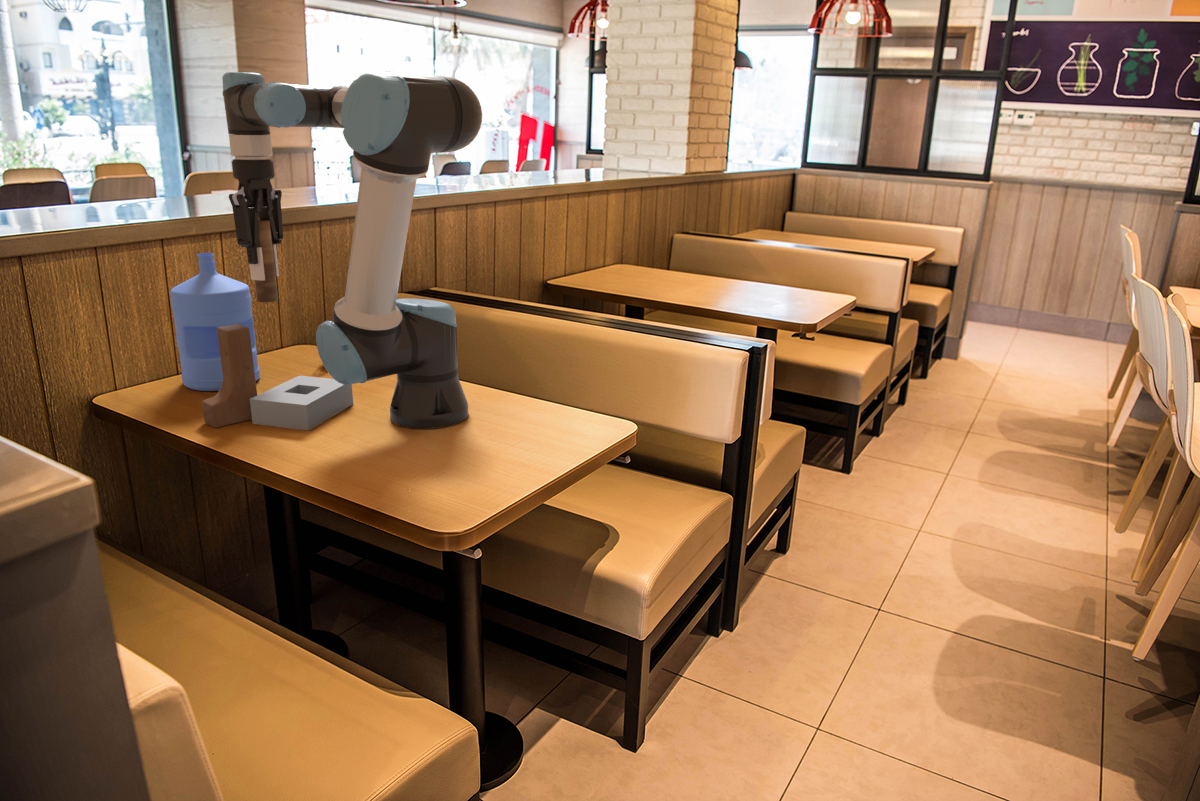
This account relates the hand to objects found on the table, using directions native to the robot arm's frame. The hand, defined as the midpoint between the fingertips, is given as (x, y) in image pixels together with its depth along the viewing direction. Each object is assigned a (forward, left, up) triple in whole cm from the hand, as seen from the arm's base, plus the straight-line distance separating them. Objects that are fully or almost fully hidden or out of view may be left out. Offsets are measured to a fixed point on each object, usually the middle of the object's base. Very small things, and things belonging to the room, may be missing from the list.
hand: (265, 277), depth 167 cm
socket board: (-13, +10, -25) cm, 29 cm away
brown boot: (-2, +17, -25) cm, 30 cm away
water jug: (+16, -3, -25) cm, 30 cm away
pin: (0, 0, -5) cm, 5 cm away
